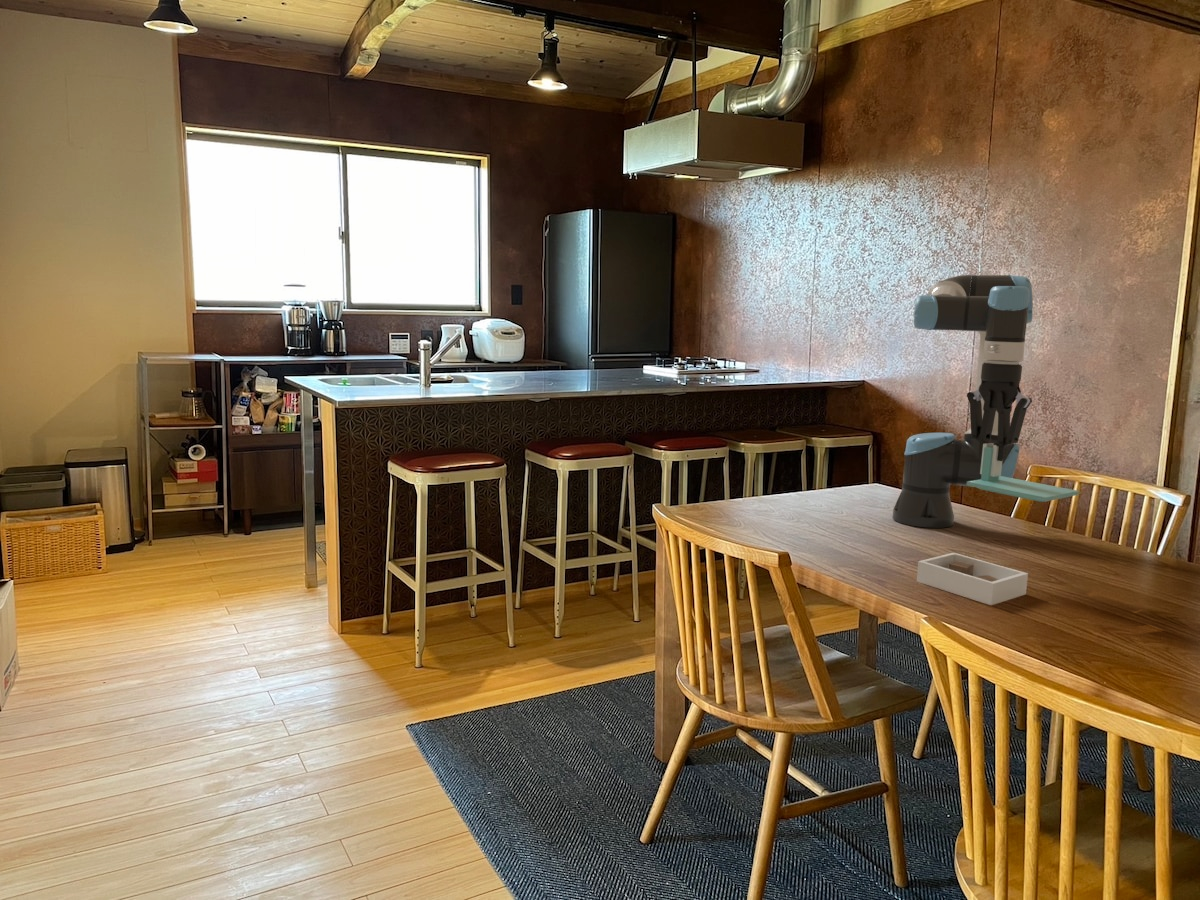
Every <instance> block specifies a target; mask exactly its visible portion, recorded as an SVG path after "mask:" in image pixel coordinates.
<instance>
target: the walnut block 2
mask: <svg viewBox="0 0 1200 900" xmlns="http://www.w3.org/2000/svg"><path fill="white" fill-rule="evenodd" d="M974 577H977V578H981V579H984V580H987V581H991V582H993V581H996V580H999V579H997V578H994V577H992V576H989V575H984V576H974Z"/></svg>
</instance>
